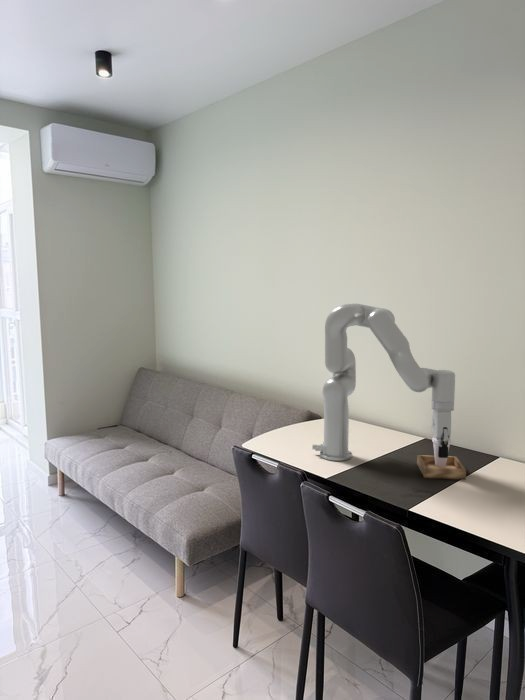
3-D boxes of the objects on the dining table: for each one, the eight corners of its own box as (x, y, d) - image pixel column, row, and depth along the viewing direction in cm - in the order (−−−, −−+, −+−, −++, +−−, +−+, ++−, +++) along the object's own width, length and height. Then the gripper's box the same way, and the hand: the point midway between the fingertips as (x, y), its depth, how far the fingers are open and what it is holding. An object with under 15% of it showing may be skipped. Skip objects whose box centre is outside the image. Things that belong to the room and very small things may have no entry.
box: (423, 477, 176) (424, 468, 175) (416, 464, 190) (417, 455, 189) (465, 479, 174) (466, 469, 174) (455, 465, 188) (456, 456, 187)
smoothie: (451, 468, 178) (453, 430, 176) (432, 467, 179) (433, 429, 177) (448, 462, 184) (450, 425, 182) (430, 461, 185) (431, 424, 183)
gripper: (427, 399, 188) (425, 446, 190) (437, 410, 171) (435, 462, 173) (448, 400, 187) (446, 447, 189) (460, 411, 170) (457, 462, 172)
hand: (440, 453), depth 181 cm, fingers closed on smoothie, 6 cm apart
